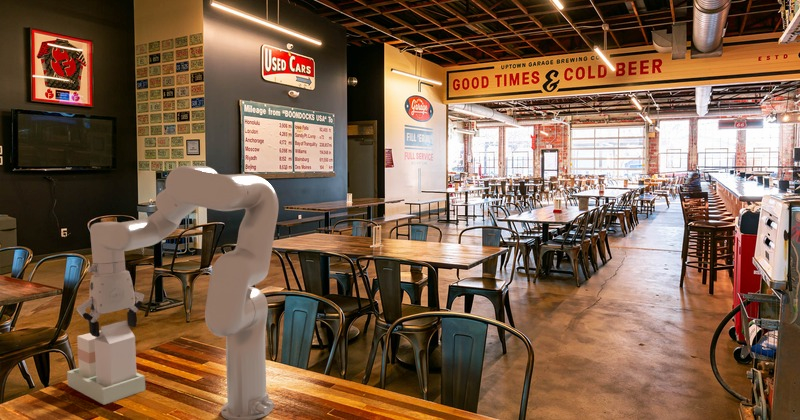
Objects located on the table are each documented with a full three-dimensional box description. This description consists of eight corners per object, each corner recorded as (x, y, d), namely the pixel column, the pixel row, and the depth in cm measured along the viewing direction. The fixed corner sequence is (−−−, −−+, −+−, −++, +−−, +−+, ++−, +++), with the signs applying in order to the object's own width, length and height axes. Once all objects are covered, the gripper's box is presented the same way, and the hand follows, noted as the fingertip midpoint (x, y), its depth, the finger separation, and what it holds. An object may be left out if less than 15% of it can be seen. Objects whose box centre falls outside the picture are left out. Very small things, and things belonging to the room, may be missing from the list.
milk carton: (137, 389, 147) (134, 322, 146) (112, 399, 141) (108, 328, 140) (122, 384, 151) (118, 318, 149) (96, 393, 145) (93, 324, 143)
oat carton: (115, 382, 152) (113, 334, 151) (90, 390, 147) (88, 340, 146) (104, 376, 156) (101, 330, 155) (79, 384, 151) (76, 336, 150)
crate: (145, 392, 147) (144, 376, 147) (104, 407, 138) (103, 389, 138) (108, 375, 159) (107, 359, 159) (67, 388, 150) (67, 371, 150)
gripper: (81, 275, 134) (86, 342, 135) (148, 264, 148) (152, 324, 149) (68, 272, 138) (73, 337, 139) (134, 262, 152) (138, 321, 153)
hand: (114, 331), depth 144 cm, fingers open, 9 cm apart
